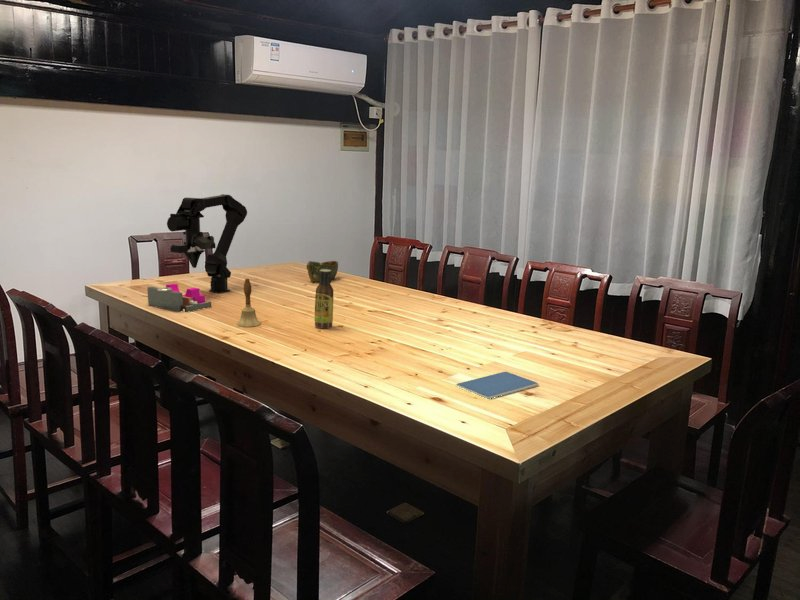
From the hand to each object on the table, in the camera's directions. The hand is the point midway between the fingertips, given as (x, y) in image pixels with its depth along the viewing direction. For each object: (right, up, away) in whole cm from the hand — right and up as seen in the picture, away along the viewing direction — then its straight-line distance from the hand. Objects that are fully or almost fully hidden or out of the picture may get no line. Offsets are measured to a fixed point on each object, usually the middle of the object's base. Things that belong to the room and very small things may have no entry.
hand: (194, 267), depth 264 cm
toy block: (+1, -15, -13) cm, 20 cm away
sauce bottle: (+57, -23, -40) cm, 73 cm away
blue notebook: (+109, -36, -94) cm, 148 cm away
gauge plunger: (-1, -15, -17) cm, 22 cm away
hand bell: (+31, -22, -39) cm, 55 cm away
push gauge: (-2, -15, -15) cm, 22 cm away
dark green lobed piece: (+46, -4, +45) cm, 65 cm away
